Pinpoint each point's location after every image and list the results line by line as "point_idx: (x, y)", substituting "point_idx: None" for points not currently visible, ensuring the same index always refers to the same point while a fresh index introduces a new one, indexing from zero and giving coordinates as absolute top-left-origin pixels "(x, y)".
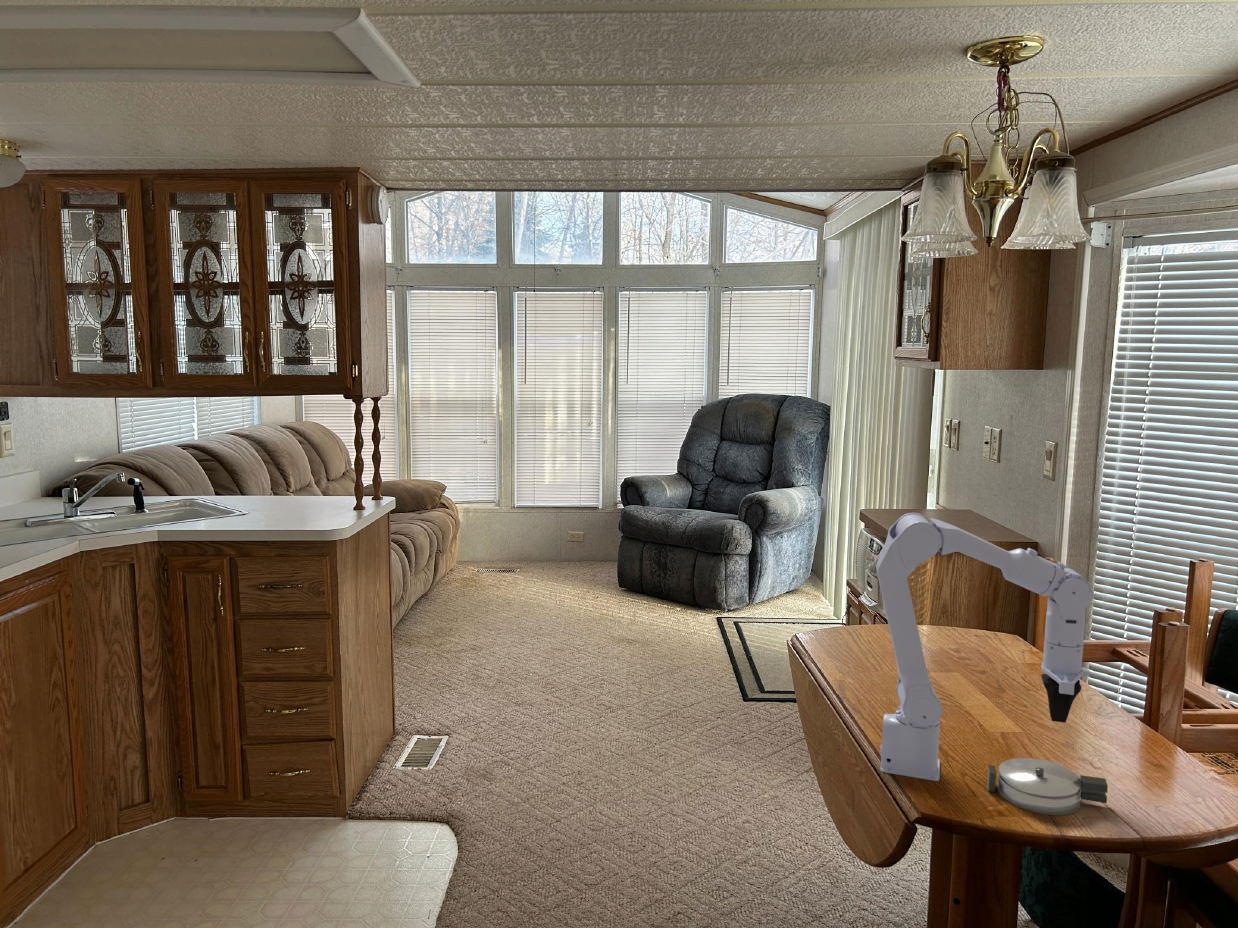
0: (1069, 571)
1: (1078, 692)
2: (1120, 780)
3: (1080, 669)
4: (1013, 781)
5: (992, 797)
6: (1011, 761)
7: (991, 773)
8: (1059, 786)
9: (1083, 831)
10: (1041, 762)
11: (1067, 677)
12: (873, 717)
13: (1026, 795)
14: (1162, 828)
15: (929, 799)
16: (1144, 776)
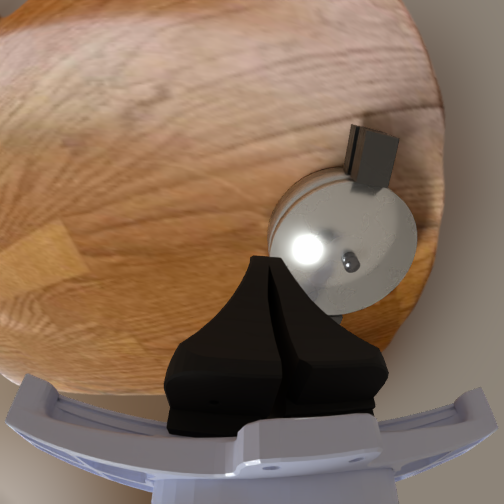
0: None
1: (375, 348)
2: (214, 54)
3: (371, 488)
4: (373, 299)
5: None
6: None
7: (340, 322)
8: (394, 232)
9: (434, 192)
10: (286, 244)
11: (435, 460)
12: (138, 383)
13: None
14: (408, 54)
15: None
16: (177, 8)
